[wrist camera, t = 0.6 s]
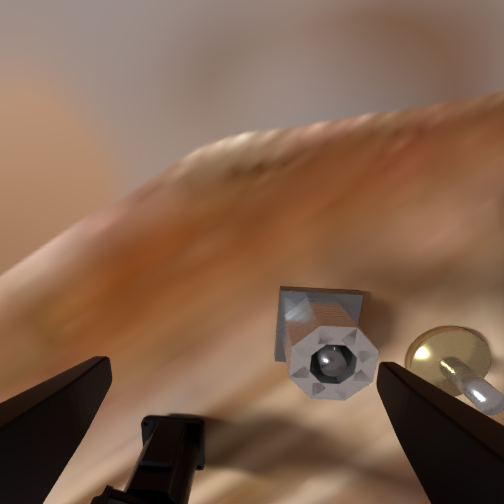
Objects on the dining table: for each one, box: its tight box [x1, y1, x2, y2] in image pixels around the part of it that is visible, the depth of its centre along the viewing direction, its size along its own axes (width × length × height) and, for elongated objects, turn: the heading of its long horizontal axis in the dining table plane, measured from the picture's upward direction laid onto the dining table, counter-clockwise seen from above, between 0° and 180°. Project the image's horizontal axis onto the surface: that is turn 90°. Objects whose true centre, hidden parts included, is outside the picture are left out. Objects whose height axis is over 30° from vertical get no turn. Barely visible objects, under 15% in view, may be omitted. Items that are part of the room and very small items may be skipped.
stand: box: [274, 286, 363, 376], centre depth 19 cm, size 7×7×6 cm
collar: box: [283, 298, 379, 400], centre depth 19 cm, size 6×6×4 cm
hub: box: [405, 326, 504, 415], centre depth 20 cm, size 7×7×5 cm
